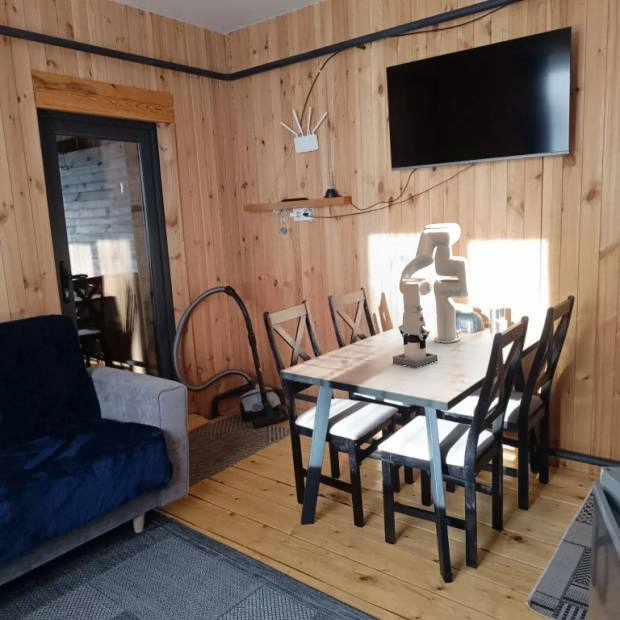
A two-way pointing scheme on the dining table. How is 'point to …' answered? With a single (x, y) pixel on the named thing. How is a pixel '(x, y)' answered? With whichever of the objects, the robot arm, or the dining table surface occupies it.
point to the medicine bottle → (414, 348)
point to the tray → (412, 363)
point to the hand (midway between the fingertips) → (414, 346)
